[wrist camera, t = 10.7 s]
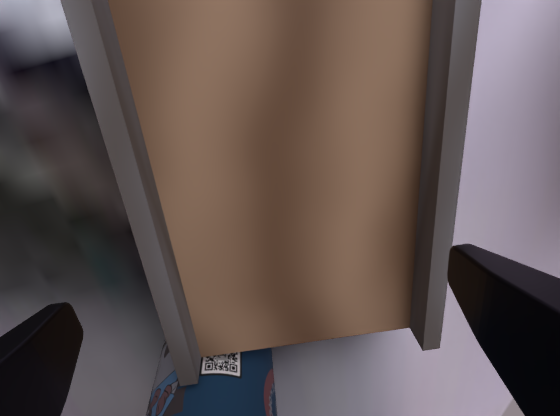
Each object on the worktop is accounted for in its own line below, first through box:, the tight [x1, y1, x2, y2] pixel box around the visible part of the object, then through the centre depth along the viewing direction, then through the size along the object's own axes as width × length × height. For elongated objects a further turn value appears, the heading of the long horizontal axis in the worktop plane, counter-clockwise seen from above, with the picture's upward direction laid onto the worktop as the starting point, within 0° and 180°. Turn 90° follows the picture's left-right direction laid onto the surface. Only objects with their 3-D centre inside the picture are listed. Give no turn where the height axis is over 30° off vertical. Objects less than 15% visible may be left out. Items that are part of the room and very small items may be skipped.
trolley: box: [61, 0, 481, 386], centre depth 17 cm, size 13×17×7 cm
